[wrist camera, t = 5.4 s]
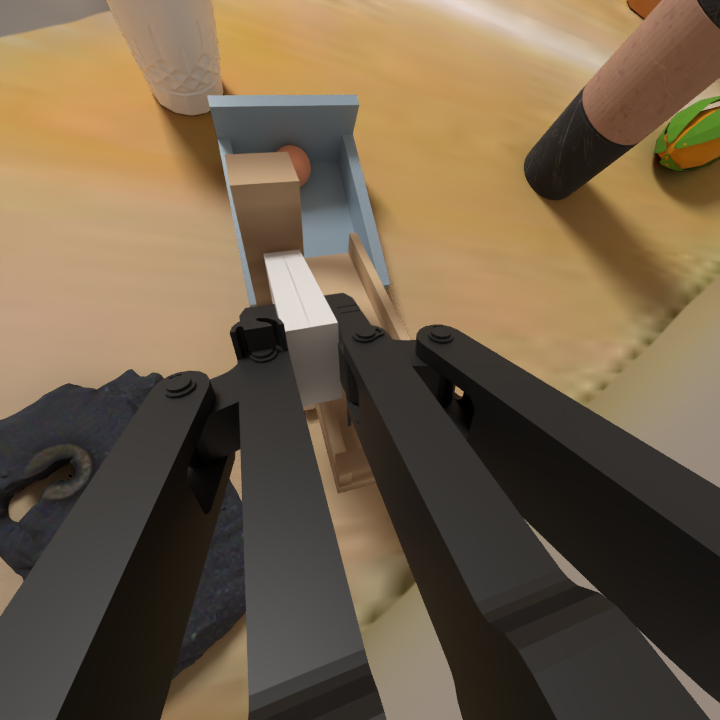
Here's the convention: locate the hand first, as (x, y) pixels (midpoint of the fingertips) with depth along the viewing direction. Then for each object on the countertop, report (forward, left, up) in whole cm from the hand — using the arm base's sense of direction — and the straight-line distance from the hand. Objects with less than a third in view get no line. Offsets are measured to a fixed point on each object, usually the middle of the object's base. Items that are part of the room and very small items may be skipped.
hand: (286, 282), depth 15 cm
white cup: (-18, +22, -17) cm, 33 cm away
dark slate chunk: (-7, -16, -17) cm, 25 cm away
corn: (+42, +46, -17) cm, 64 cm away
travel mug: (+22, +31, -17) cm, 42 cm away
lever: (+4, 0, -8) cm, 9 cm away
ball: (-5, +17, -14) cm, 22 cm away
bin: (-3, +12, -17) cm, 21 cm away
